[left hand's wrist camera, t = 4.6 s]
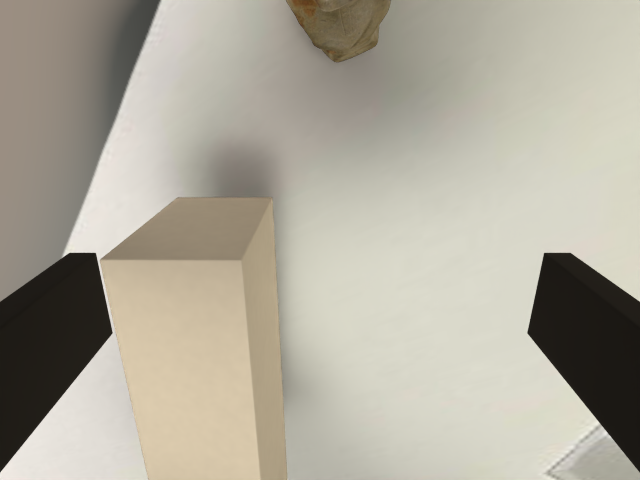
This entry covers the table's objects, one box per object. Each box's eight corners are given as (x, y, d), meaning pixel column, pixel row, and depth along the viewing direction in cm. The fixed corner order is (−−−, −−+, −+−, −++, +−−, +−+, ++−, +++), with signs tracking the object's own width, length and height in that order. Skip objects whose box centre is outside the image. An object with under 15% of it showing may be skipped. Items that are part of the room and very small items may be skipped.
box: (177, 197, 27) (98, 259, 18) (272, 197, 27) (241, 260, 18) (216, 479, 37) (177, 614, 27) (287, 480, 36) (272, 616, 27)
